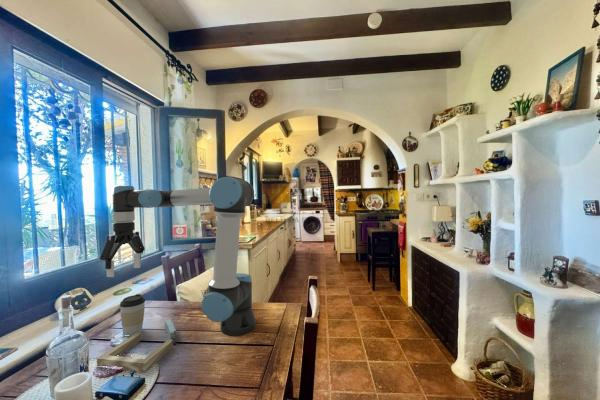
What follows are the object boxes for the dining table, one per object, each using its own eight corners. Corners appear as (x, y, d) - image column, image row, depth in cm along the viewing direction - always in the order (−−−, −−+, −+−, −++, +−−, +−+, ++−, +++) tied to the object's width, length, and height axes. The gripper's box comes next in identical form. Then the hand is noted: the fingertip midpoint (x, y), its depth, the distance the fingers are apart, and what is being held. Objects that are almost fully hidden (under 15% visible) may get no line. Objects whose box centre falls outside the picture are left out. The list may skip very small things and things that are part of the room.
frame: (178, 343, 98) (178, 335, 98) (145, 372, 81) (145, 363, 81) (137, 339, 101) (137, 332, 101) (96, 367, 84) (96, 358, 84)
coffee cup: (132, 339, 101) (132, 301, 101) (114, 336, 103) (114, 300, 103) (150, 328, 110) (150, 293, 110) (132, 326, 112) (132, 292, 112)
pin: (177, 343, 98) (177, 330, 98) (174, 345, 96) (174, 332, 96) (173, 343, 98) (173, 330, 98) (170, 345, 96) (170, 332, 97)
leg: (176, 341, 99) (176, 331, 99) (170, 343, 98) (170, 332, 98) (170, 328, 109) (170, 318, 109) (165, 329, 108) (165, 320, 108)
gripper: (138, 219, 119) (139, 264, 119) (87, 224, 94) (88, 280, 94) (153, 219, 118) (153, 264, 118) (105, 224, 93) (105, 281, 93)
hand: (124, 272), depth 106 cm, fingers open, 13 cm apart
